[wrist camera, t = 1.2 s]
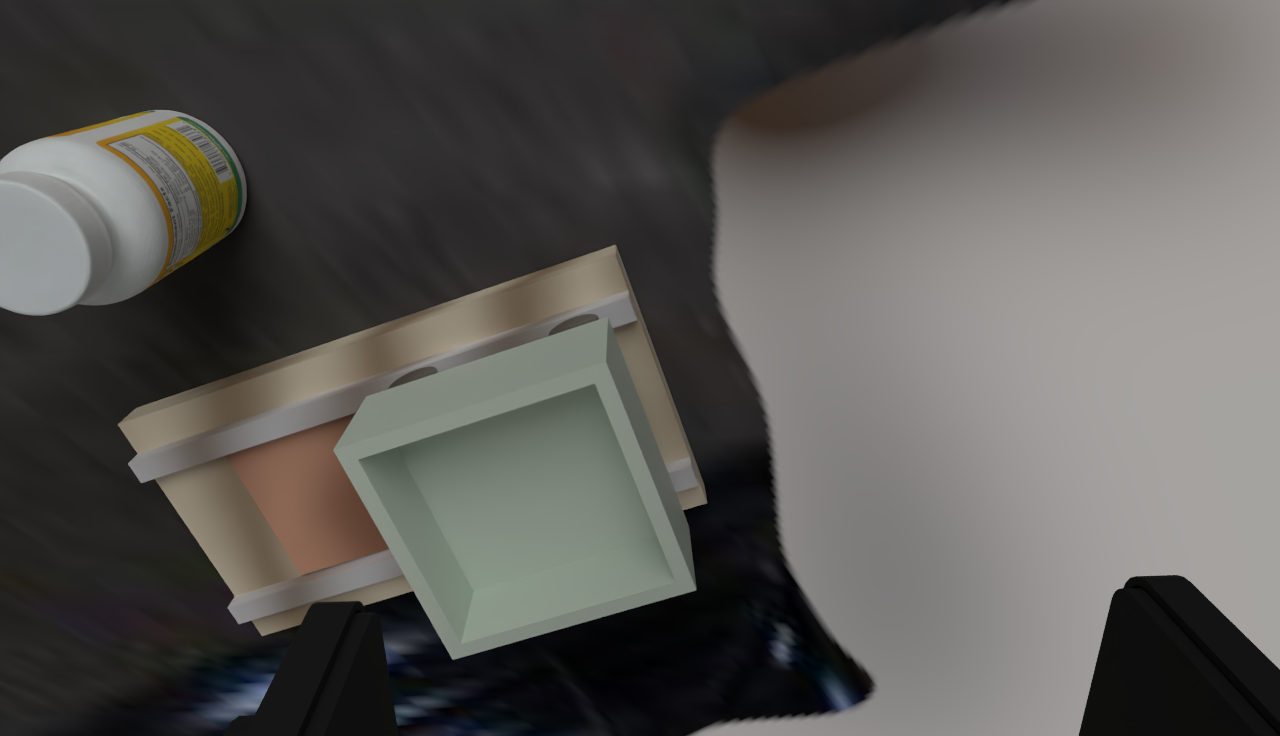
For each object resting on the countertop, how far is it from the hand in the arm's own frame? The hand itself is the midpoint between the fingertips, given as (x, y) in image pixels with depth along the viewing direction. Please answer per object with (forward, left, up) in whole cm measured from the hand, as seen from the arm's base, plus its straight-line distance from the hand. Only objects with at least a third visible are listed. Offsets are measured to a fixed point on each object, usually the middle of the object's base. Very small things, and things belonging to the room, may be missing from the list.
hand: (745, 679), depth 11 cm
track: (+13, +7, -25) cm, 29 cm away
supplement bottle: (+17, -7, -25) cm, 31 cm away
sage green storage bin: (+8, +7, -22) cm, 25 cm away
